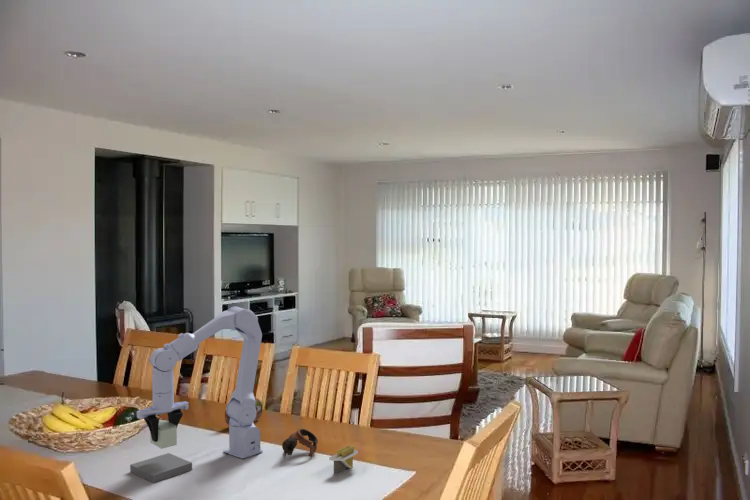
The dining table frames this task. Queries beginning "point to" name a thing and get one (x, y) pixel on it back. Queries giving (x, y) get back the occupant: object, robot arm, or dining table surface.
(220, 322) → the robot arm
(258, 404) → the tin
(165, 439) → the block
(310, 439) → the brown curved band
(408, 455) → the dining table surface
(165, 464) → the stand
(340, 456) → the platform
